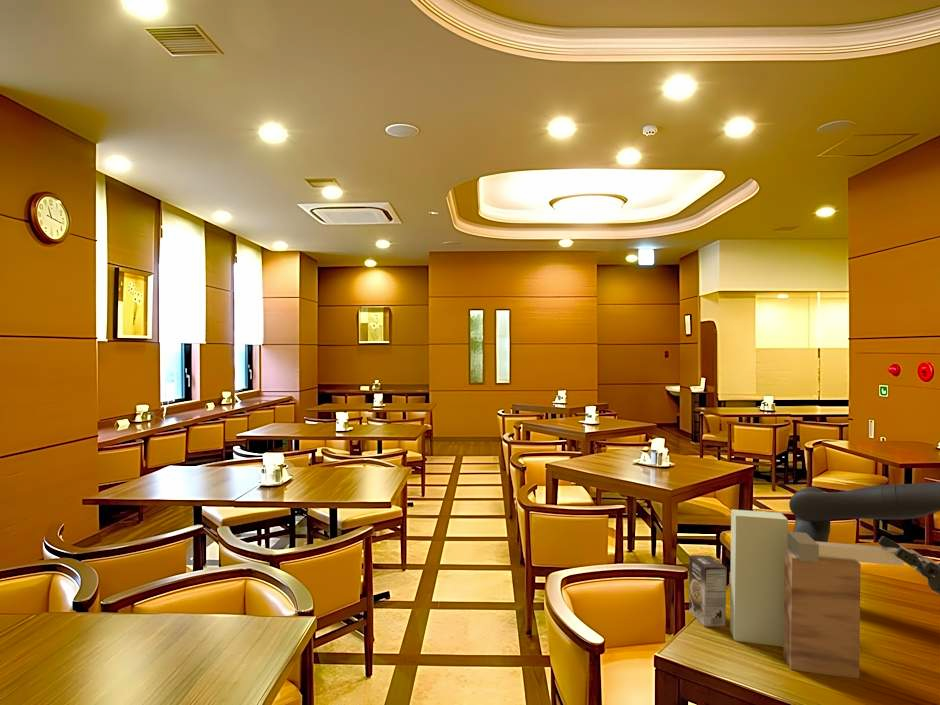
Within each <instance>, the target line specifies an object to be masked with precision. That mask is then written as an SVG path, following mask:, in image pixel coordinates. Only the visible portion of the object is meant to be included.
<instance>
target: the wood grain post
mask: <svg viewBox="0 0 940 705" xmlns="http://www.w3.org/2000/svg"><path fill="white" fill-rule="evenodd" d="M861 567H862V566H861V562H855V561H844V560H833V559H821V558H819V562H809V561H799V560H798V559H797V558H796V557H795V555H794V554H793V553H792V552H791V551H790V550H789V549H788V550H787V549H785V557H784V644H783V650H782V651H783V655H782V656H783V658H784V660H785V662H786V664H787V667H789V669H790V670H791V671H796V672H797V671H799V672H806V673H812V674H813V673H814V674H821V675H828V676H836V677H842V678H843V677H845V678H849V679H850V678H851V679H856V680H857V679H860V653H861V652H860V651H861V650H860V649H861V648H860V647H861V646H860V644H861V643H860V640H861V639H860V638H861V634H860V633H861V631H860V630H861V571H862V570H861Z"/></svg>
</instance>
